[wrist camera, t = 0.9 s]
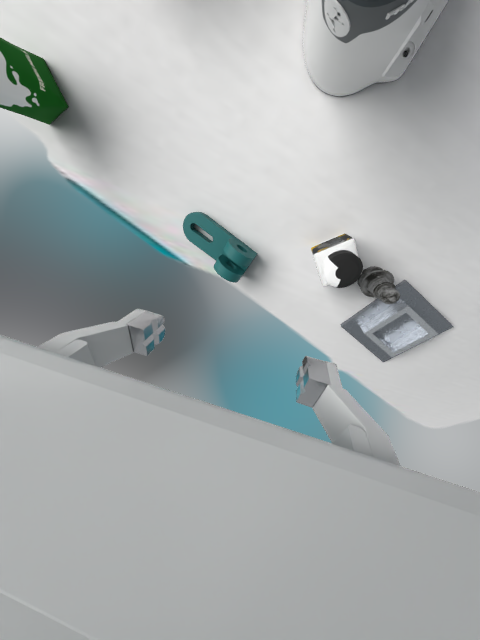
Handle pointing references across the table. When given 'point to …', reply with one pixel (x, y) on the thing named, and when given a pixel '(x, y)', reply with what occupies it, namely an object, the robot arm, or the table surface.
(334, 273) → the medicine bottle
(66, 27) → the table surface
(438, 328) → the plate
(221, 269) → the bracket
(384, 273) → the chess piece
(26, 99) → the milk carton
